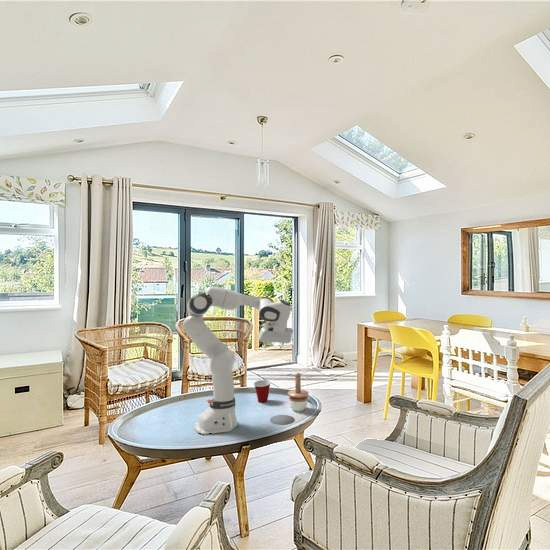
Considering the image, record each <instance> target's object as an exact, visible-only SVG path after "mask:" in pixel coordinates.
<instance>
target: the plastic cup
mask: <svg viewBox="0 0 550 550" xmlns="http://www.w3.org/2000/svg"><path fill="white" fill-rule="evenodd" d="M253 386H254V389H255V393H256V397H257V402H258V403H260V404H263V403H267V402H268V401H269V400H268V398H269V394H270V387H271V381H270V379H269V380H268V379H260V380H256V381H254V382H253Z"/></svg>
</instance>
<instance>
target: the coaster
mask: <svg viewBox="0 0 550 550" xmlns="http://www.w3.org/2000/svg"><path fill="white" fill-rule="evenodd" d="M269 421H270V423H271V424H273V425H278V426H288V425H291V424H293V423H294V422H295V421H296V419H295V418H294V417H293V416H291V415H289V414H278V415H277V414H276V415H274V416H271V417H270V418H269Z"/></svg>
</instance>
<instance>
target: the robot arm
mask: <svg viewBox="0 0 550 550" xmlns="http://www.w3.org/2000/svg"><path fill="white" fill-rule="evenodd" d="M240 306H246V307H250V308H253V309H256V310H258V314H259V317H260V319H261V320H263V321H265V322H263V324H262V327H261V328H260V329H259V333H258V336H257V337H258V338H257V339H259V342H263V349H266V348H267V347H268V345H267V343H268V342H269V343H280V344H278V345H277V349H278V350H281V349H282V347H283V346H284V345H285V344H290V343H291V341H292V338H293V334H294V329H293V328H292V327H287V326H288V321H289V318H290V316H291V312H292V306H291V304H290V303H289V302H288V300H284V299H279V300H278V301H275V302H274V301H273V299H272V298H271V297H268V296H260V297H259V296H253V295H249V294H244V293H240V292H238V291H237V292H236V291H234V290H231V289H227V288H224V287H219V286H211V285H210V286H208V287H207V288H206V289H205V290H204V292H201V293H198V294H194V295H193V296H192V297H190V299H188V301H187V304H186V309H185V310H186V314H187V316H186V318H185V319H184V320H183V321H182V327H183V329H184V330H183V331H185V333H186V335H187V336H188V337H189V339H190V340H191V341H192V343H193V344H194V345H195V346H196V348H197V349H198V350H199V351H200V352H201V353H202V354H204V355H205V356H206V357H208V358H209V359H210V360H211V361H210V365H209V366H210V374H211V380H212V393H213V394H212V395H213V396H212V397H213V398H212V399H211V398H208V399H207V400H206V402H207V403H208V404H209V407H207V408H206V409H205V410H204V411H202V412H201V414H200V415H199V417H198V422H196V423H195V424H194V430H195V432H196V431H197V432H196V433H198V434H199V433H201V434H200V435H202V434H204V435H210V434H209V433H212V434H218V433H220V434H221V433H228V432H231V431H233V429H234V428H236V427H237V426H238V424H239V422H238V420H237V415H236V398H235V381H234V375H233V367H234V364H235V362H236V355H235V353H234V351H233V350H232V349H230V348H229V347H228V346H227V345H226V344H224V342H222V341H221V340H220V339H219V338H218V337H217V336H216V334H215V333H214V332H213V331H212V329H210V327H209V326H208V325H207V324H206V323H205V321H204V319H203V317H204V315H205V314H206V313H207V312H208V311H209V309H210V307H216V308H220V309H223V310H226V311H227V310H228V311H234V310H235V309H237V308H238V307H240ZM267 349H268V348H267Z"/></svg>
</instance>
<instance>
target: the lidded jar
mask: <svg viewBox="0 0 550 550" xmlns="http://www.w3.org/2000/svg"><path fill="white" fill-rule="evenodd" d="M288 399H289V401H288V403H289V406H290V408H291V410H292V411H294V412H298V413H299V412H304V410H305V409H306V408H307V406H308V405H307V404H308V396H306V397H300V398H297V397H291V396H289V395H288Z"/></svg>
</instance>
